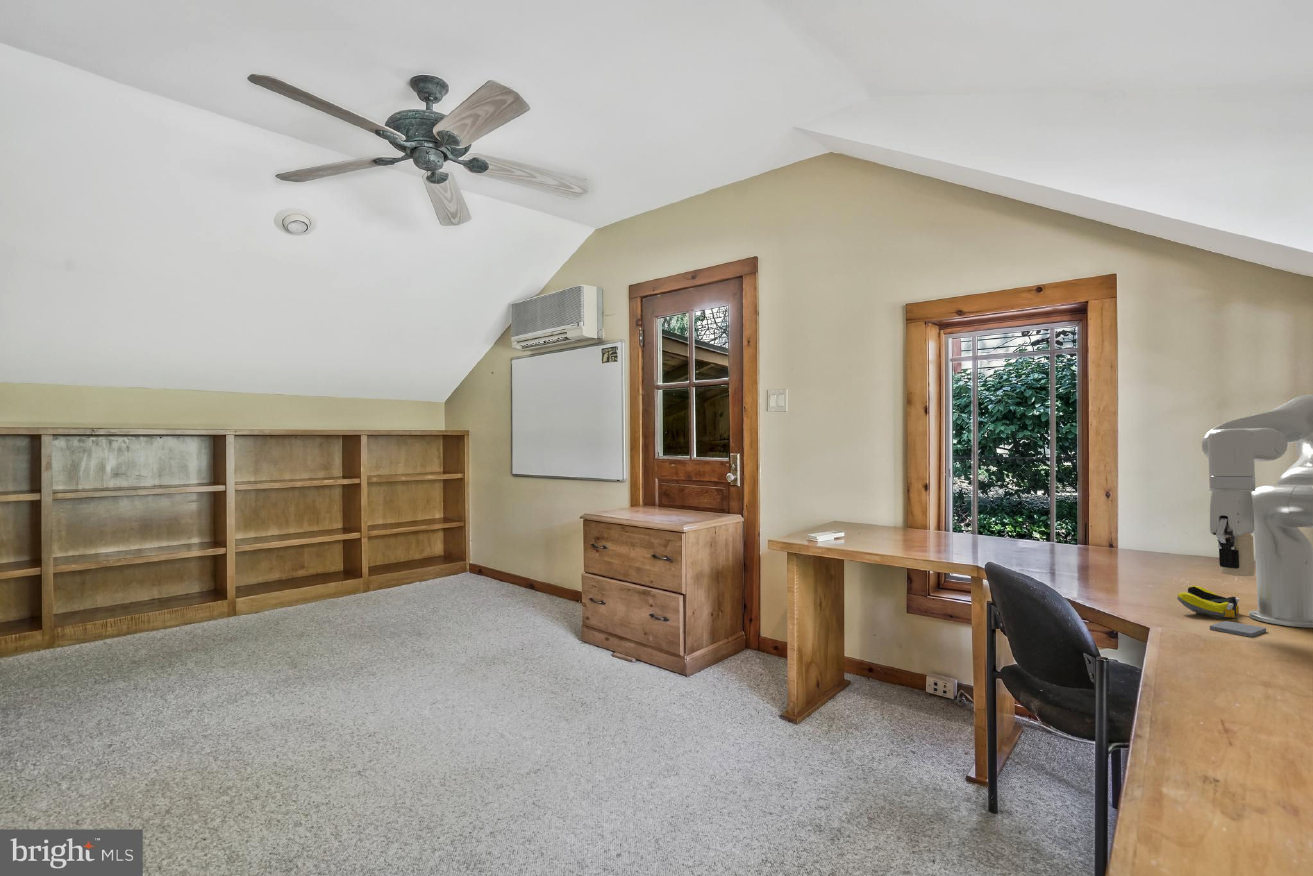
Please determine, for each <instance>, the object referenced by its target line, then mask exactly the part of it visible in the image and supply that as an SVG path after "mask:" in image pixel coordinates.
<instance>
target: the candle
mask: <svg viewBox="0 0 1313 876" xmlns="http://www.w3.org/2000/svg"><path fill="white" fill-rule="evenodd" d="M1226 535H1233V534H1232V533H1226ZM1230 540H1231V543H1232V539H1230ZM1236 550H1239V568H1237V569H1235V568H1226V567H1221V566H1220V565H1219V567H1220V573H1221V574H1223V575H1228V576H1235V577H1236V576H1237V577H1254V576H1255V557H1254V556H1255V553H1254V552H1255V551H1254V550H1255V547H1254V536H1253V535H1252V533H1251V534H1249V533H1248V532H1246V533H1245V534H1244V535H1242V536H1239V537H1237V548H1236Z"/></svg>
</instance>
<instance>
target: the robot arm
mask: <svg viewBox="0 0 1313 876" xmlns="http://www.w3.org/2000/svg"><path fill="white" fill-rule="evenodd" d="M1293 443H1295V450H1296V455H1297V460H1296V461H1295V462H1294V463H1293V464H1292V465H1291V466H1290V467H1288V468H1287V469H1286V470H1285V471H1284V472H1283V473H1282V474H1281V475H1280V476H1279V477H1278V480H1277V483H1276V484H1264V485H1259V486H1257V487H1256V467H1255V462H1270V461H1275V460H1278V459H1280V458H1282V457H1283V456H1284V455H1285V453H1286V452H1287V450H1288V447H1289V444H1293ZM1201 449H1202V452H1203V454H1204V455H1205V456H1206V457H1207V458H1208V477H1209V481H1208V482H1209V483H1208V484H1209V491H1211V494H1210V495H1211V496H1210V504H1209V505H1210V506H1209V533H1210V534H1211V535H1212V536H1215V537H1216V538H1217V542H1218V543H1217V544H1218V545H1217V547H1218V561H1219V567H1220V566H1221V567H1226V568H1235V569H1237V568H1239V550H1236V548H1237V537H1239V536H1242V535H1244V534H1245V533H1246V532H1248V533H1249V534H1251V535H1252V534H1253V535H1254V536H1253V538H1254V550H1255V551H1254V552H1255V553H1254V556H1255V578H1256V579H1255V580H1256V599H1257V600H1256V602H1257V603H1256V604H1257V609H1252V610H1248V616H1249V617H1250V618H1251V619H1254V620H1256V621H1259V622H1263V623H1267V624H1273V625H1279V626H1285V627H1292V628H1293V627H1295V628H1309V629H1311V628H1313V545H1312V543H1311V542H1310V540H1309V538H1308V537H1307V536H1306V535H1305V534H1304V533H1303V532H1302V530H1301V529H1300V528H1307V529H1308V528H1310V529H1313V394H1306V395H1301V396H1297V397H1295V398H1292V399H1291V400H1289V401H1287V402H1285V403H1282V404H1281V405H1279V406H1277V407H1276V408H1273V409H1272V410H1269V411H1265V412H1261V413H1255V414H1252V415H1249V416H1244V417H1239V418H1236V419H1233V420H1229V421H1226V422H1223V423H1220V424H1219V425H1216V426H1214V427H1212V428H1211V429H1209V431H1207V432H1206V433H1205V435H1204V436H1203V438H1202V440H1201ZM1226 533H1232V534H1233V535H1226ZM1230 539H1232V543H1231V540H1230Z"/></svg>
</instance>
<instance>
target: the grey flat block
mask: <svg viewBox="0 0 1313 876" xmlns="http://www.w3.org/2000/svg"><path fill="white" fill-rule="evenodd" d="M1209 630H1211V631H1217V632H1221V633H1227V634H1231V635H1237V636H1243V637H1247V636H1248V637H1249V638H1253V637H1255V636H1259V635H1261V634H1264V633H1267V627H1262V626H1256V625H1251V624H1246V623H1245V624H1244V623H1240V622H1235V621H1234V622H1233V621H1228V620H1224V621H1221V622H1217V623H1215V624H1211V625H1209ZM1248 637H1247V638H1248Z"/></svg>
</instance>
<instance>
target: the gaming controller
mask: <svg viewBox="0 0 1313 876" xmlns="http://www.w3.org/2000/svg"><path fill="white" fill-rule="evenodd" d="M1176 599H1177V600H1178V601H1179V602H1180V603H1181V604H1182V605H1183V606H1184V607H1185V608H1187V609H1189V610H1190V611H1192V612H1193V613H1196V614H1201V615H1208V616H1209V618H1212V617H1214V618H1213V619H1218V618H1219V619H1220V620H1222V619H1225V618H1229V619H1230V618H1235V616H1236V615H1237V614H1240V611H1239V610H1240V609H1239V608H1240V607H1239V605H1238V603H1239V601H1240V598H1239V597H1237V596H1230V597H1225V596H1221V595H1219V594H1217V593H1214V592H1212V591H1211V590H1209V589H1206V588H1205V587H1203V586H1198V585H1191V586H1189V587H1188V589H1187V592H1186V591H1183V592H1180V593H1179V592H1178V593H1177V598H1176Z"/></svg>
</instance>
